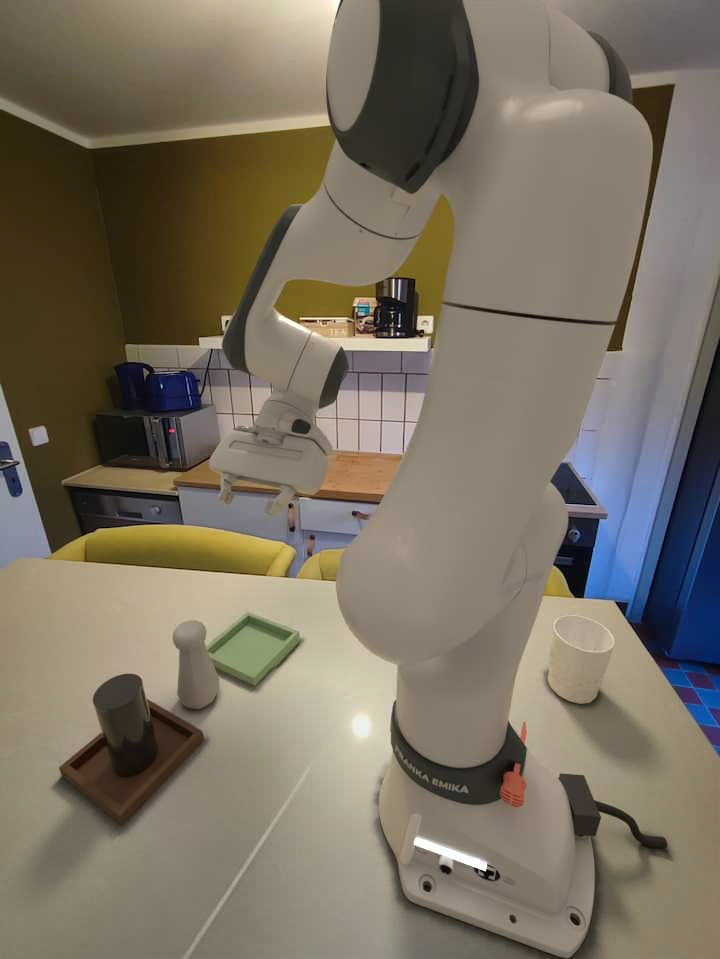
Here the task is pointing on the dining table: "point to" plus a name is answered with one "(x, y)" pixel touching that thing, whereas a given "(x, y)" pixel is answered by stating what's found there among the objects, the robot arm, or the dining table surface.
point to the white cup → (578, 657)
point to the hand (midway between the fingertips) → (246, 508)
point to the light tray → (252, 647)
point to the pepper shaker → (126, 724)
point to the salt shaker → (194, 666)
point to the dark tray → (130, 793)
